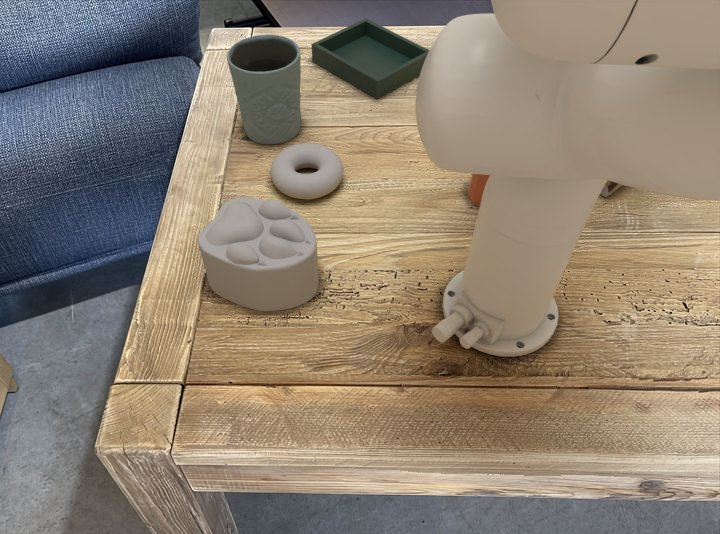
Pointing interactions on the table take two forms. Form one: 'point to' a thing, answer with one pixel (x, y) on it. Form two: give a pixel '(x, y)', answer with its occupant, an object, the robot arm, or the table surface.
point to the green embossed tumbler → (267, 87)
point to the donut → (306, 183)
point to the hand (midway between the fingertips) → (506, 130)
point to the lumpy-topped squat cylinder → (260, 255)
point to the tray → (370, 57)
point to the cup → (477, 187)
